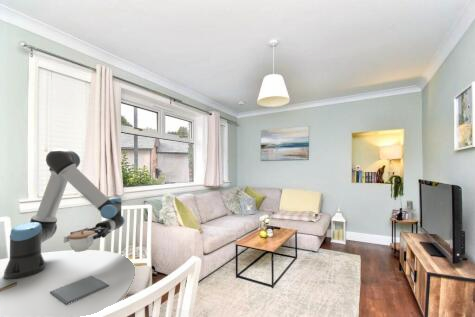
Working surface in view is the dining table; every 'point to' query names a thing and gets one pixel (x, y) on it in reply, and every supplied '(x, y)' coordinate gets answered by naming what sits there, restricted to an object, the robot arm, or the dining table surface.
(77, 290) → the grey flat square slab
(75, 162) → the robot arm
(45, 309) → the dining table surface
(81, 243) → the lidded jar
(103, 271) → the dining table surface
